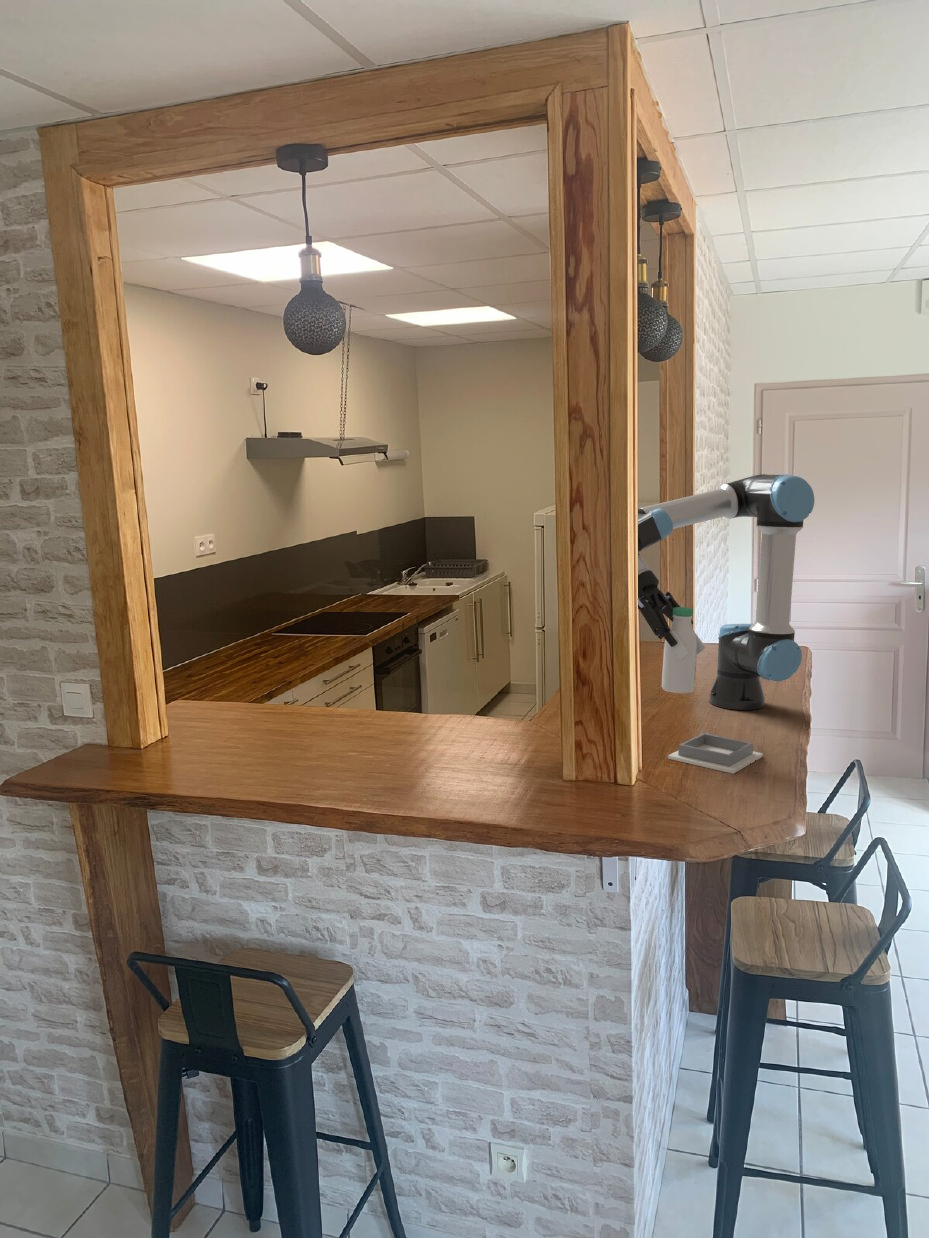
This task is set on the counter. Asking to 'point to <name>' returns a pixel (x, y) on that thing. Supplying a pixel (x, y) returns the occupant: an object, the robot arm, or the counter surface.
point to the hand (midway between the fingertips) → (693, 653)
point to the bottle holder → (716, 753)
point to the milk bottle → (675, 671)
